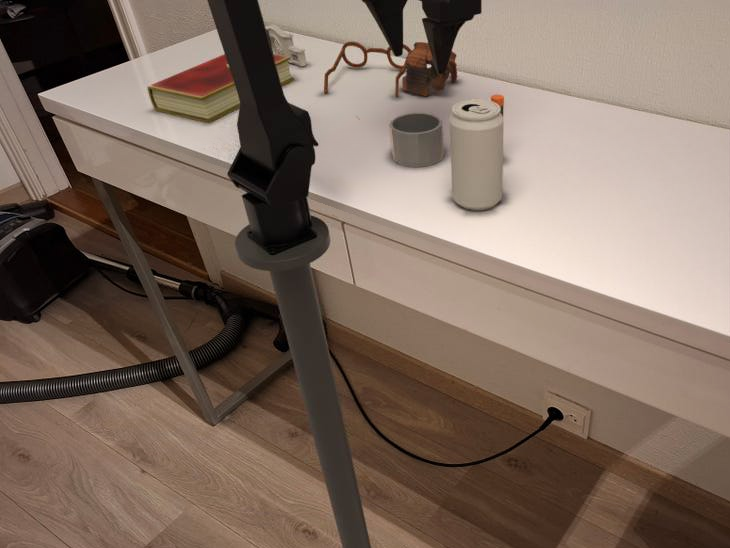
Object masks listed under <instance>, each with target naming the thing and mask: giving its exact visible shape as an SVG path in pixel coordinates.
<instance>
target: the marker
mask: <svg viewBox="0 0 730 548" xmlns="http://www.w3.org/2000/svg"><path fill="white" fill-rule="evenodd" d="M490 101H492V102H495V103H497V104H498V105H499V106H500V108H501V111H500V113H501V114H502V116H503V117H504V105H505V96H504V95H503V94H499V93H498V94H493V95H491V96H490Z"/></svg>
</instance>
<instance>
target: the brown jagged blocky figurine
mask: <svg viewBox="0 0 730 548" xmlns="http://www.w3.org/2000/svg"><path fill="white" fill-rule="evenodd" d="M407 55H408V56H407ZM407 55H406V57H405V60H406V59H407V60H406V61H407V63H408V64H407V67H406V70H405V74H406V75H405V76H403V77H402V79H401V80H402V81H401V82H402V91H405V92H409V93H412V94H416V95H420V96H423V97H428V96H429V90H430V87H431V89H432V90H433V91H435V92H440V91H443V90H445V86H446V82H447V81H448V79H449V76H450V81H451V83H454V82H456V81H457V79H458V70H457V69H458V68H457V66H458V65H457V63H456V58H457V53H456V52H454V51H452V52H451V55H450V59H449V62H448V66H447V69H446V72H445V73H443V74H438V73H437V71H436V68H435V65H434V62H433V59H432V55H431V51H430V48H429V44H428V42H423V41H415V42H414V44H413V49H411V52H410V53H409V54H408V53H407ZM428 65H430V67H428Z"/></svg>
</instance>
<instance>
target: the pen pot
mask: <svg viewBox="0 0 730 548" xmlns="http://www.w3.org/2000/svg"><path fill="white" fill-rule="evenodd" d="M388 126H389V136H390V145H391V154H392V158H393V161H394V162H395V163H397V164H399V165H400V166H403V167H408V168H424V167H429V166H432V165H435V164H437V163H439V162H441V160H443V158H444V154H445V153H444V151H445V148H444V129H443V127H444V126H443V120H442V119H441V118H440V116H438V115H435V114H432V113H426V112H410V113H403V114H401V115H397V116H395V117H394V118H393V119H391V120H390V122H389V124H388Z"/></svg>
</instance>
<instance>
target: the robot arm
mask: <svg viewBox="0 0 730 548" xmlns="http://www.w3.org/2000/svg"><path fill="white" fill-rule="evenodd" d="M408 1H409V0H361V2H362V3H364V4H365V5H366V7H367V9H368V11H369V12H370V14H371V16H372V18H373V19H374V21H375V22H376V24H377V26H378V28H379V30H380V31H381V33H382V35H383V37H384V39H385V41H386V42H387V44H388V47H389V46H390V48H391V52H392V55H394V57H401V56H403V53H404V48H403V44H404V9H405V6H406V4H407V3H408ZM418 1H419V2H421V9H422V11H423V13H424V15H425V16H426V17H423V18H421V22H422V25H423V29H424V33H425V36H426V39H427V43H428V44H429V48H430V51H431V55H432V59H433V62H434V65H435V68H436V71H437V73H438V74H443V73H445V72H446V69H447V66H448V62H449V59H450V55H451V52H453V49H454V45H455V42H456V39H457V36H458V34H459V32H460V30H461V28H462V27H463V25H464V24H465V23H466V22H469V21H472V20H473V19H474V18H475V16H477V15H481V14H482V13H483V10H482V9H483V8H482V7H483V1H482V0H418ZM206 2H207V4H208V7H209V10H210V13H211V16H212V19H213V23H214V25H215V29H216V32H217V35H218V38H219V40H220V44H221V46H222V50H223V54H225V56H226V59H227V62H228V65H229V68H230V71H231V74H232V78H233V81H234V84H235V87H236V90H237V93H238V96H239V100H240V108H238V109H239V110H238V116H237V122H236V127H237V134H238V139H239V145H240V147H239V149H238V150H237V153H236V155H235V157H234V159H233V161H232V163H231V164H230V167H229V168H228V171H227V177H228V178H229V180H230V181H231V183H232V184H233V185H234V186H235V187H236V189H240V190H242V191H244V192H245V193H244V194H242V195H241V198H242V199H241V200H242V202H243V205H244V210H245V213H246V217H247V221H248V225H249V224H250V228H251V230H250V231H248V232H247V236H248V237H249V238H250V239H251V240H252V241H254V242H255V243H256V244H257V245H259V246H260V247H261V248H262V249H263V250H265V251H266V252H267V253H268V254H270V255H276V254H278V253H281V252H283V251H286V250H288V249H290V248H293V247H295V246H298V245H300V244H302V243H305V242H307V241H309V240H312V239H314V238H316V237H317V233H316V232H315V231H314V230H312V229H311V228H309V227H312V220H311V215H312V214H311V211H310V205H309V200H308V197H309V193H310V183H311V175H312V169H313V168H312V167H313V166H314V165H315V164H316V157H317V156H316V149H315V147H319V142H318V141H317V140H316V138H315V136H314V135H315V134H314V133H313V127H312V120H311V119H312V118H311V116H310V113H309V111H308V110H306V109H304V108H301V107H299V106H296V105H295V104H293V103H290V102H289V101H288V100H287V98H286V96H285V93H284V89H283V86H282V85H281V82H280V78H279V75H278V71H277V67H276V64H275V60H274V57H273V53H272V49H271V46H270V42H269V39H268V35H267V31H266V28H265V27H266V25H265V21H264V18H263V14H262V10H261V7H260V6H261V5H260V3H259V0H206Z"/></svg>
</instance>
